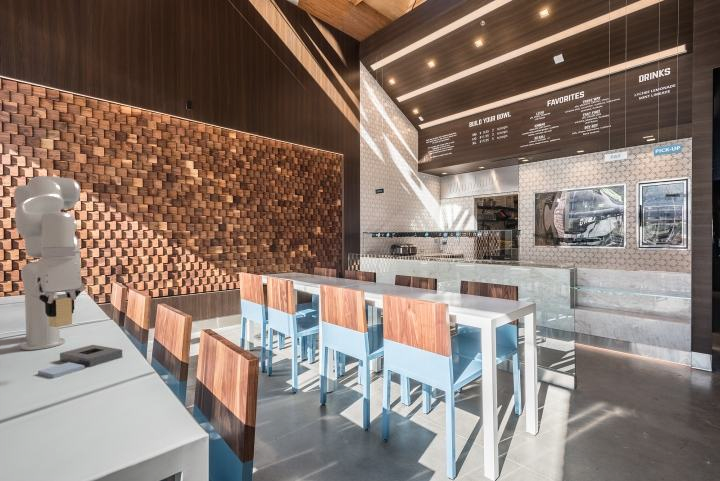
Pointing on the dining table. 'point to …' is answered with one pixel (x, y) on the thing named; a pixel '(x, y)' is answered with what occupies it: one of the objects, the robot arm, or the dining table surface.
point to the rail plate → (91, 355)
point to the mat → (61, 369)
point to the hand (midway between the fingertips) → (60, 314)
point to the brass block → (62, 312)
